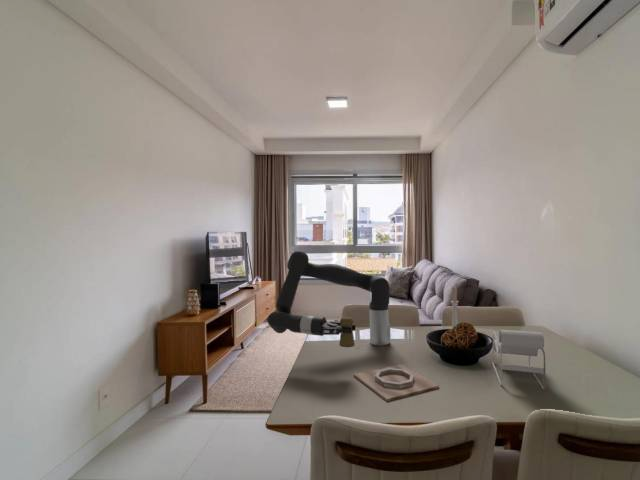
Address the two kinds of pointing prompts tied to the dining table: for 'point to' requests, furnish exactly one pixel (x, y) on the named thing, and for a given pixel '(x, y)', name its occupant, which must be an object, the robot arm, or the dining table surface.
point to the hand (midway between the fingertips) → (353, 329)
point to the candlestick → (454, 307)
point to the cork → (346, 338)
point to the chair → (519, 349)
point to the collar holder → (395, 382)
